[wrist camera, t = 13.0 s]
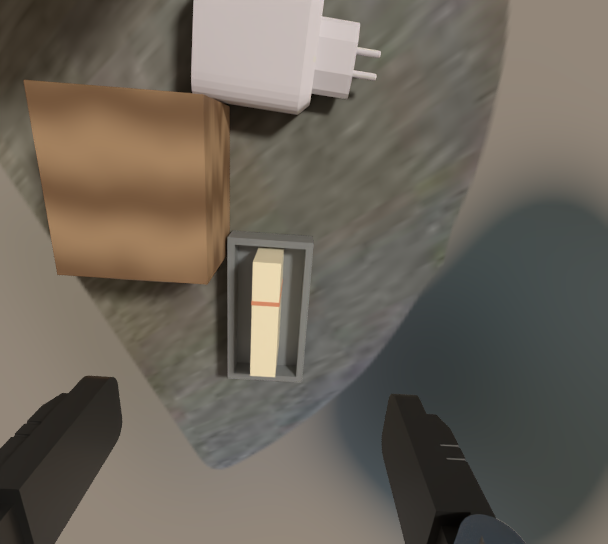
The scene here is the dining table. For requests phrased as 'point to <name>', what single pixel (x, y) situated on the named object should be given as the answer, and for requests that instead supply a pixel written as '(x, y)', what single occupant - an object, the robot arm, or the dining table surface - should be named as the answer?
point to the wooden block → (133, 180)
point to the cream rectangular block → (266, 310)
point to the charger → (272, 53)
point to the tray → (292, 302)
